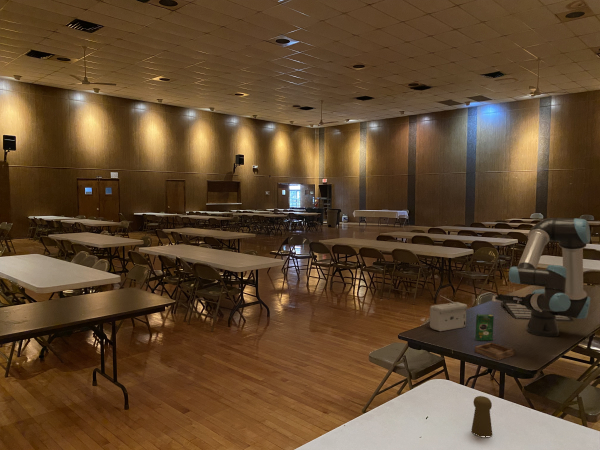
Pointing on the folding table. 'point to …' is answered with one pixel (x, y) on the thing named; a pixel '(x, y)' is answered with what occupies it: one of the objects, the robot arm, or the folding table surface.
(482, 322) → the coffee box
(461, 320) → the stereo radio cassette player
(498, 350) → the tray
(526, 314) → the shutter
